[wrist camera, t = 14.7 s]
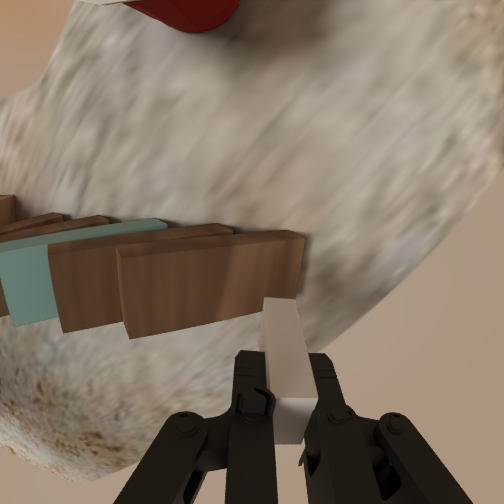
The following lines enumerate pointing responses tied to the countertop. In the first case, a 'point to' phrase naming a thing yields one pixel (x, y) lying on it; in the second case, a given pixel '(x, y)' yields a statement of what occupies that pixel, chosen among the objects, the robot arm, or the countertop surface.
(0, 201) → the block
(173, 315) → the domino
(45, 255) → the domino
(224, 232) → the domino
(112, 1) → the plastic cup
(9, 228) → the domino
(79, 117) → the countertop surface
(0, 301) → the domino
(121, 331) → the countertop surface
